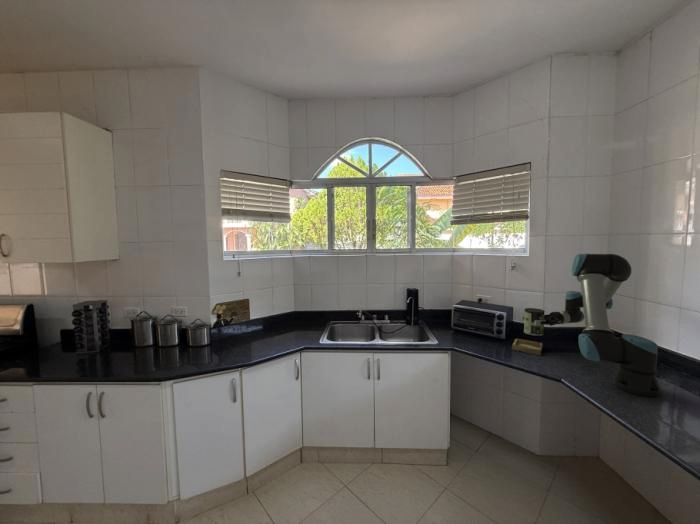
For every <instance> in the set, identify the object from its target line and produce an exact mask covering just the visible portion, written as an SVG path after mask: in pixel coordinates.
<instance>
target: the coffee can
mask: <svg viewBox="0 0 700 524" xmlns="http://www.w3.org/2000/svg"><path fill="white" fill-rule="evenodd" d="M524 315H525V317H524V320H523V321H524V322H523V323H524V324H523V326H524V327H523V333H525V334H527V335H531V336H535V337H536V336H537V337H538V336H541V337H542V336H543V335H544V333H545V332H544V331H545V328H544V326H545V325H535V320H544V315H545V310H544V309H540V308H535V307H534V308H533V307H527V308H524Z"/></svg>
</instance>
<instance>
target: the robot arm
mask: <svg viewBox="0 0 700 524" xmlns="http://www.w3.org/2000/svg"><path fill="white" fill-rule="evenodd" d="M631 274H632V266H631V264H630V262H629V261H628V260H627V259H626V258H625V257H623V256H621V255H618V254H615V253H578V254H576V255H575V257H574V258H573V262H572V267H571V275H572V276H574V277H576V281H578V282H580V284H581V285H580V286H581V292H580V291H576V290H568V291H566V292H565V305H564V307H565V308H564V310H559V311H552V312H550V313H549V314H544V320H535V325H544V326H548V325H549V327H550V326H551V327H552V326H556V325H565V324H576V323H581V322H583V321H584V322H585V323H584V325H585V328H584V329H582V331H581V333H580V334H579V335H578V337H577V338H578V347H579V351H580V353H581V355H582V357H583V358H585V359H587V361H588V360H589V361H594V362H603V363H609V364H610V363H611V364H615V365H616V364H617V365H619V369H618V370H617V372H616V373H615V375H614V377H613V384H614V386H615V385H616V386H615V387H617V388H618V389H621V390H622V389H623V390H622V391H624V390H625V391H624V392H627V393H629V392H630V393H629V394H633V395H636V394H637V395H638V396H641V397H648V398H649V397H650V398H655V397H659V396H661V387H660V386H661V385H660V384H659V381H658V379H657V366H658V365H657V364H658V355H659V352H658V351H659V350H658V348H659V347H658V344H657V343H656V342H655V341H653V340H651V339H650V338H646V337H643V336H639V335H634V334H629V333H623V334H622V335H621V337H616V336H615V332H614V331H613V330H612V329H610V325H609V318H608V311H607V310H610V309H612V308H613V305H614V304H613V302H614V301H613V299H612V297H613V296H614V295H615V293H616V292H617V291H618V290H619V288H620V287H621V285H622V284H623V282H626V281H627V280H628V279H629V278H630V277H631ZM581 308H582V309H583V311H582V310H581ZM524 317H525V314H523V315H520V321H524Z"/></svg>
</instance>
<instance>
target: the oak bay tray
mask: <svg viewBox="0 0 700 524" xmlns="http://www.w3.org/2000/svg"><path fill="white" fill-rule="evenodd" d="M513 341H514V342H513V343H512V345H511V351H514V350H516V351H515V352H519V351H521V353H524V352H525V354H531V355H536V356H541V354H542V351H543V342H538V341H532V340H527V339H521V338H514V340H513Z"/></svg>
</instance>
